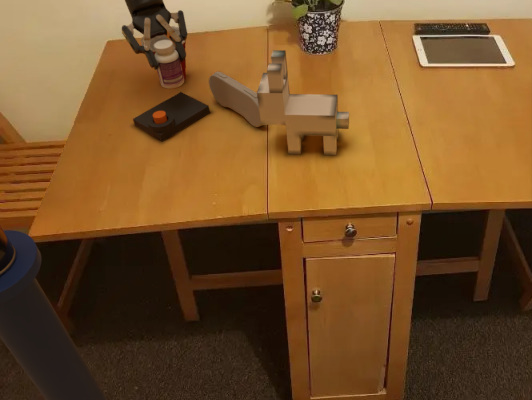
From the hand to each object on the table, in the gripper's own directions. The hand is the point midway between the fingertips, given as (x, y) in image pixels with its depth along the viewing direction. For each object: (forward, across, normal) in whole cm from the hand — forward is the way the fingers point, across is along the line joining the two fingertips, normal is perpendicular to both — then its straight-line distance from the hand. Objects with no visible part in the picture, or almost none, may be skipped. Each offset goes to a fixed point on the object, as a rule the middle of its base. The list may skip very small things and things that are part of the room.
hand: (169, 64), depth 125 cm
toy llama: (+27, -20, +9) cm, 35 cm away
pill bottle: (+3, 0, -5) cm, 6 cm away
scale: (+10, +2, -9) cm, 13 cm away
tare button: (+10, +6, -4) cm, 12 cm away
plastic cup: (-1, -4, -21) cm, 21 cm away
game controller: (+14, -12, -5) cm, 19 cm away
